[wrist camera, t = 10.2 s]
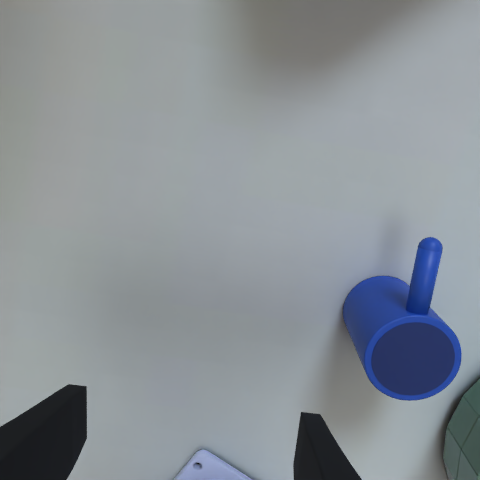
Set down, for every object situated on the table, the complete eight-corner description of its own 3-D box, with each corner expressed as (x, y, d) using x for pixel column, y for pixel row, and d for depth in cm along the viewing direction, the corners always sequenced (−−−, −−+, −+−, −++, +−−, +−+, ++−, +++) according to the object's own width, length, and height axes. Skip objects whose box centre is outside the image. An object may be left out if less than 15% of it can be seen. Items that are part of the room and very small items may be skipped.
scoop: (410, 348, 22) (451, 406, 17) (337, 340, 22) (357, 395, 18) (438, 221, 21) (491, 246, 16) (358, 213, 21) (386, 236, 16)
